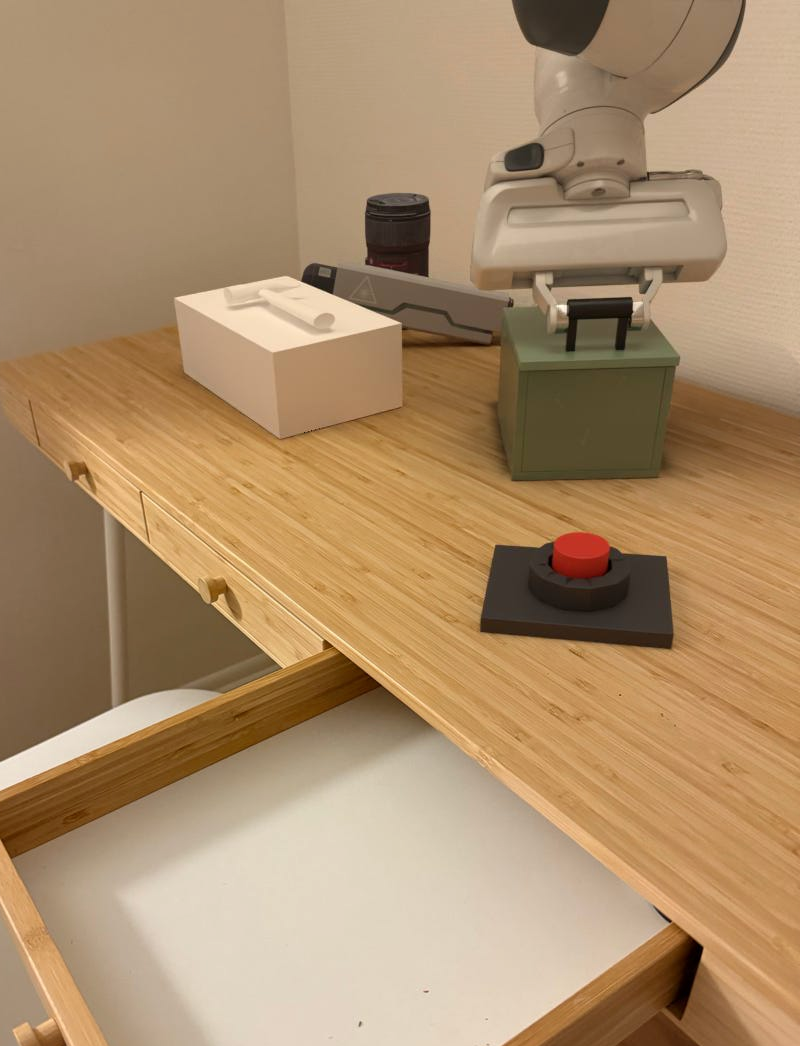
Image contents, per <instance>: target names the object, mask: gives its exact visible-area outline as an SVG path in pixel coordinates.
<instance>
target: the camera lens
mask: <svg viewBox="0 0 800 1046" xmlns="http://www.w3.org/2000/svg"><path fill="white" fill-rule="evenodd" d="M431 216H432V210H431V206H430V199H429V197H428V196H426V195H424V194H420V193H413V192H391V193H390V192H387V193H380V194H376V195H371V196H370V197H368V198H367V199H366V205H365V211H364V238H365V247H366V257H365V259H364V265H369V266H374V267H379V268H384V269H389V270H394V271H399V272H404V273H409V274H414V275H419V276H424V277H429V278H430V274H429V273H430V271H429V270H430V267H429V266H430V265H429V262H430V259H429V258H430V243H431V230H432V229H431V227H432V226H431V222H432V221H431V220H432V219H431V218H432V217H431ZM402 330H405V328H402Z"/></svg>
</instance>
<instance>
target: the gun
mask: <svg viewBox="0 0 800 1046" xmlns="http://www.w3.org/2000/svg"><path fill="white" fill-rule="evenodd" d="M300 282H303V283H305V284H308V285H310V286H313V287H315V288H317V289H320V290H322V291H325V292H327V293H329V294H332V295H334V296H337V297H339V298H342V299H344V300H346V301H349V302H351V303H354V304H356V305H359V306H361V307H363V308H366V309H368V310H371V311H373V312H376V313H378V314H380V315H383V316H385V317H388V318H390V319H393V320H395V321H397V322H400V323H402V328H405V329H406V330H411V331H415V332H421V333H426V334H430V335H435V336H440V337H446V338H451V339H456V340H459V341H466V342H471V343H476V344H480V345H486V346H490V345H491V344H492V342H493V338H494V332H496V333H501V331H502V317H503V316H502V312H503V308H508V307H514V305H515V300H514V298H512V297H511V296H509V293H507V292H502V291H499V290H479V289H478V288H477V287H476V286H472V285H468V284H463V283H458V282H452V281H447V280H444V279H443V280H442V279H439V278H434V277H430V276H429V277H424V276H419V275H414V274H409V273H404V272H399V271H394V270H389V269H384V268H379V267H374V266H369V265H365V263H360V262H359V263H358V262H353V261H349V260H343V259H339V260H338V263H337V266H332V265H328V264H322V263H317V262H313V263H310V264H308V265H306V267H305V268H304V270H303V272H302V276H301V279H300ZM405 329H404V330H405Z"/></svg>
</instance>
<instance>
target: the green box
mask: <svg viewBox="0 0 800 1046" xmlns="http://www.w3.org/2000/svg"><path fill="white" fill-rule="evenodd" d="M500 333H501V334H500V355H499V372H498V392H497V412H496V415H497V420H498V425H499V428H500V433H501V437H502V443H503V446H504V452H505V455H506V460H507V465H508V469H509V470H508V471H509V474H510V478H511V481H514V482H515V481H516V482H517V481H556V480H557V481H558V480H559V481H560V480H602V479H604V480H605V479H607V480H609V479H648V478H649V479H653V478H654V479H655V478H659V477H660V473H661V466H662V460H663V453H664V446H665V442H666V441H665V440H666V433H667V428H668V421H669V415H670V409H671V403H672V396H673V389H674V383H675V377H676V370H677V366H661V367H630V368H598V369H566V370H535V371H520V369H519V366H518V363H517V360H516V357H515V354H514V350H513V347H512V344H511V341H510V338H509V335H508V332H507V328H506V325H505V322H504V319H503V317H502V329H501V332H500Z"/></svg>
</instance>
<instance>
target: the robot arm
mask: <svg viewBox="0 0 800 1046" xmlns="http://www.w3.org/2000/svg"><path fill="white" fill-rule="evenodd" d="M511 4H512V8H513V13H514V16H515V18H516V22H517V24H518V26H519V29H520V31H521V33H522V35H523V37H524V39H525V40H526V42H527V43H528V44H530V45H531V46H535V47H536V48H535V53H534V65H533V105H534V106H533V107H534V112H535V117H536V120H537V122H538V125H539V132H538V135H537V138H534V139H532V140H529V141H527V142H523V143H521V144H519V145H515V146H513V147H510V148H507V149H504V150H501V151H498V152H496V153H495V154H493V155H492V156H491V157H490V160H489V163H488V166H487V170H486V175H485V180H484V184H483V185H484V186H483V194H482V196H481V197H480V200H479V201H478V202H479V203H478V206H477V211H476V215H475V221H474V228H473V237H472V242H471V243H472V244H471V254H470V268H469V270H470V272H469V278H470V279H469V280H470V282H471V283H472V284H473V285H474V287H477V288H478V289H479V290H493V291H503V290H504V291H505V290H524V289H525V290H527V289H528V290H532V300H533V301H534V302H535V304H536V306H538V307H539V308H540V309H541V311H542V312H543V313H544V315H545V316H547V330H548V334H560V333H566V332H567V329H568V326H569V317H568V304H567V303H565V304H559V303H558V301H557V300H556V298H555V297H554V295H553V294H552V289H553V288H557V289H558V288H578V287H579V288H580V287H581V288H583V287H603V286H604V287H605V286H606V287H607V286H628V285H629V286H631V285H633V286H634V285H638V294H639V295H643V298H642V299H641V301H633V311H632V315H631V317H630V318H628V326H627V330H628V331H646V330H647V328H648V326H649V324H650V318H651V304H652V302H653V301H654V299H655V297H656V295H657V294H658V291H659V290H660V288H661V285H662V284H679V283H704V282H708V281H709V280H711V278H712V277H713V276H714V275H715V274H716V273H717V271H718V270H719V268H721V265H722V264H723V262H724V261H725V258H726V255H727V252H728V241H727V240H728V239H727V234H726V233H727V232H726V227H725V223H724V218H723V213H722V210H723V193H722V192H723V191H722V185H721V183H720V181H719V180H717V179H716V178H714V177H713V176H711V175H708V174H704V173H703V170H701V169H694V168H693V169H685V170H681V171H680V170H679V171H678V170H677V171H675V170H674V171H673V170H656V171H655V170H652V171H648V167H647V166H648V165H647V164H648V163H647V150H646V149H647V147H646V146H647V145H646V130H645V125H644V124H645V123H644V122H645V120H646V118H647V116H648V115H655V114H658V113H659V112H661V111H663V110H665V109H667V108H669V107H670V106H672V105H674V104H675V103H676V102H678V101H679V100H681V99H683V98H684V97H687V95H689V94H690V93H691V92H693V91H694V90H696V89H697V88H699V87H700V86H702V85H703V84H704V83H706V82H707V81H708V80H710V79H711V77H713V76H714V75H715V74H716V73H717V72H718V71H719V70H720V69H721V68H722V67H723V66H724V65H725V63H726V62H727V61H728V59H729V58H730V56H731V54H732V52H733V50H734V48H735V46H736V43H737V41H738V38H739V36H740V32H741V29H742V26H743V22H744V17H745V13H746V7H747V0H511Z"/></svg>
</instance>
